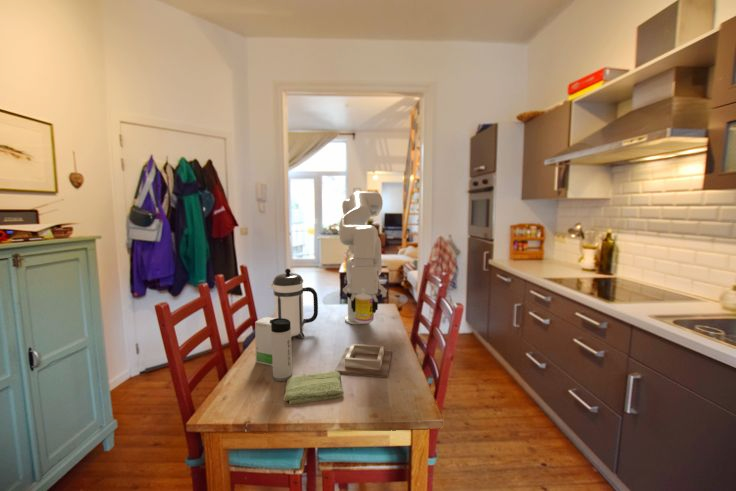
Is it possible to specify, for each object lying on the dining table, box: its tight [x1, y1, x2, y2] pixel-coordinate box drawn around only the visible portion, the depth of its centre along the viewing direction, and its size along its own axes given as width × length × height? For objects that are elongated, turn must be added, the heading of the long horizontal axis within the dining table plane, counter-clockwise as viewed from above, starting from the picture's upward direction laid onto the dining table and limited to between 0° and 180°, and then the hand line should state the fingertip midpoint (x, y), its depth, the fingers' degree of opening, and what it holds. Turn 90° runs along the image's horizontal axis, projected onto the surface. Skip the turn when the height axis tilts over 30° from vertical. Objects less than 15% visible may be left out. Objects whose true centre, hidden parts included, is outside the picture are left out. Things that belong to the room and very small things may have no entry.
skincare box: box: [254, 316, 276, 367], centre depth 119 cm, size 8×7×16 cm
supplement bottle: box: [355, 288, 375, 325], centre depth 116 cm, size 7×7×13 cm
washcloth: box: [283, 370, 344, 405], centre depth 101 cm, size 13×18×3 cm
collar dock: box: [334, 343, 393, 378], centre depth 119 cm, size 18×18×4 cm
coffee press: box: [269, 268, 319, 339], centre depth 142 cm, size 17×16×30 cm
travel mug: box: [270, 318, 293, 382], centre depth 108 cm, size 6×7×20 cm
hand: (364, 310), depth 117 cm, fingers closed on supplement bottle, 6 cm apart
